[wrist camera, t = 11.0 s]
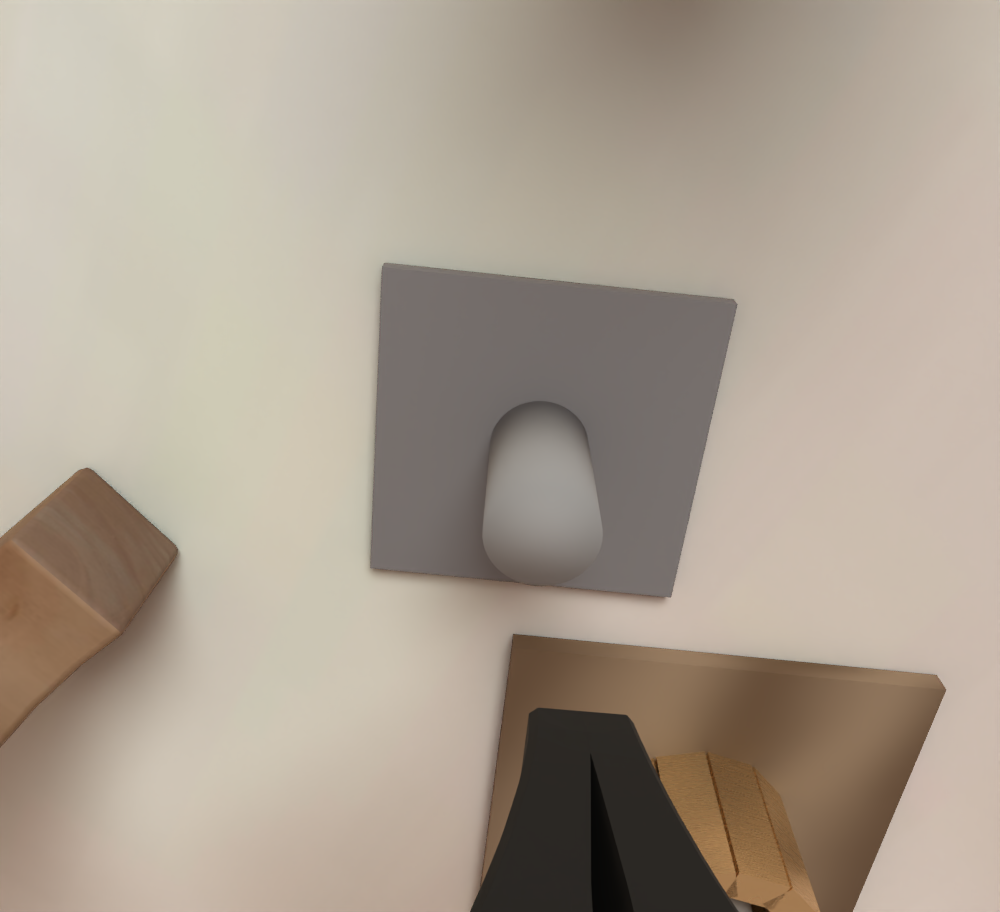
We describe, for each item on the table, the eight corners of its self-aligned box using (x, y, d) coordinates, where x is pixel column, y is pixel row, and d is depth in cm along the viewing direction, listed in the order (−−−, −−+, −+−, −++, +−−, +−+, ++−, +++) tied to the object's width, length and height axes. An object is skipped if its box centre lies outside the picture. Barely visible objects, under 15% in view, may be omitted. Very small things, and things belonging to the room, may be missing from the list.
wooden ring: (816, 833, 26) (863, 960, 22) (665, 908, 27) (686, 1038, 24) (713, 723, 24) (747, 842, 20) (558, 811, 26) (564, 935, 22)
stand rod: (733, 299, 19) (790, 366, 15) (668, 588, 23) (700, 708, 19) (385, 263, 19) (346, 321, 15) (373, 559, 23) (338, 673, 18)
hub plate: (936, 675, 24) (1028, 813, 20) (823, 948, 29) (876, 1106, 25) (513, 634, 24) (510, 765, 19) (476, 917, 29) (467, 1070, 24)
